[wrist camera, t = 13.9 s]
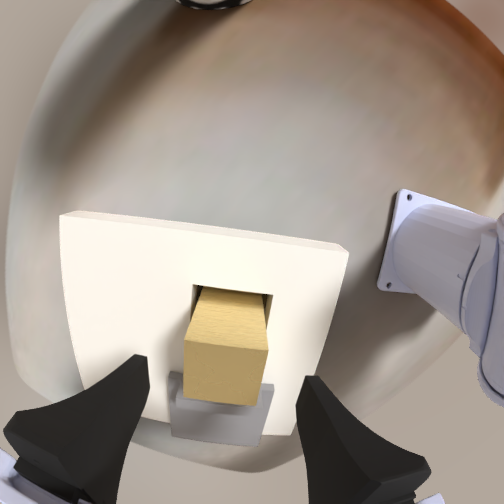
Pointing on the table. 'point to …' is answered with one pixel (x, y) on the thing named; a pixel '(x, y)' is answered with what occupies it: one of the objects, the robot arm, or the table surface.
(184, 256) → the socket base
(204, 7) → the white-spotted black cylinder
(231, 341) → the peg
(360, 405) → the table surface
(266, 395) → the panel
